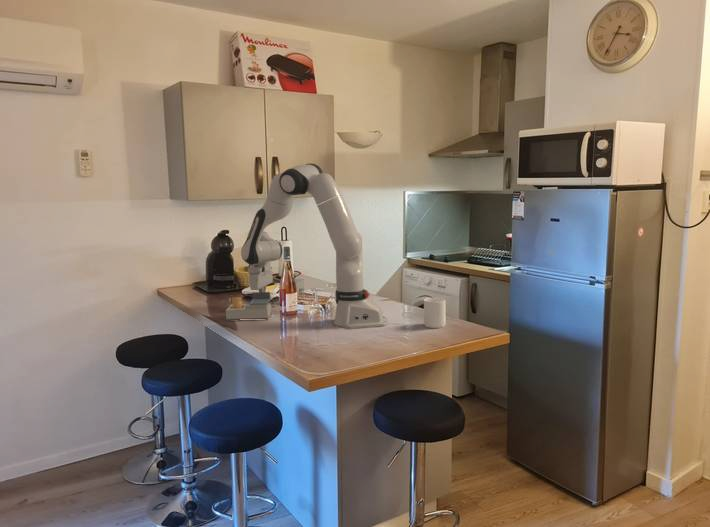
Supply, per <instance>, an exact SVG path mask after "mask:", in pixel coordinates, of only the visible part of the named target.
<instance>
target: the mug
mask: <svg viewBox="0 0 710 527" xmlns="http://www.w3.org/2000/svg"><path fill="white" fill-rule="evenodd" d="M446 306H447V305H446V299H445V298H442V297H426V298H424V299H423V325H424V326H425V327H426V328H428V329H441V328H444V327H445V326H446V309H447V308H446Z"/></svg>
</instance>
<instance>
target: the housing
mask: <svg viewBox="0 0 710 527" xmlns="http://www.w3.org/2000/svg"><path fill="white" fill-rule="evenodd" d="M270 314H271V315H272V304H271V303H270V302H269V303H268V304H267V305H249V303H242V308H233V303H232V304H230V305H229V306H228V307H227V308H226V310H225V315H226V316H225V317H226V319H225V321H226V320H240V319H268V318H269V319H270V317H271V316H270ZM269 316H270V317H269ZM269 319H268V320H269Z"/></svg>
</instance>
